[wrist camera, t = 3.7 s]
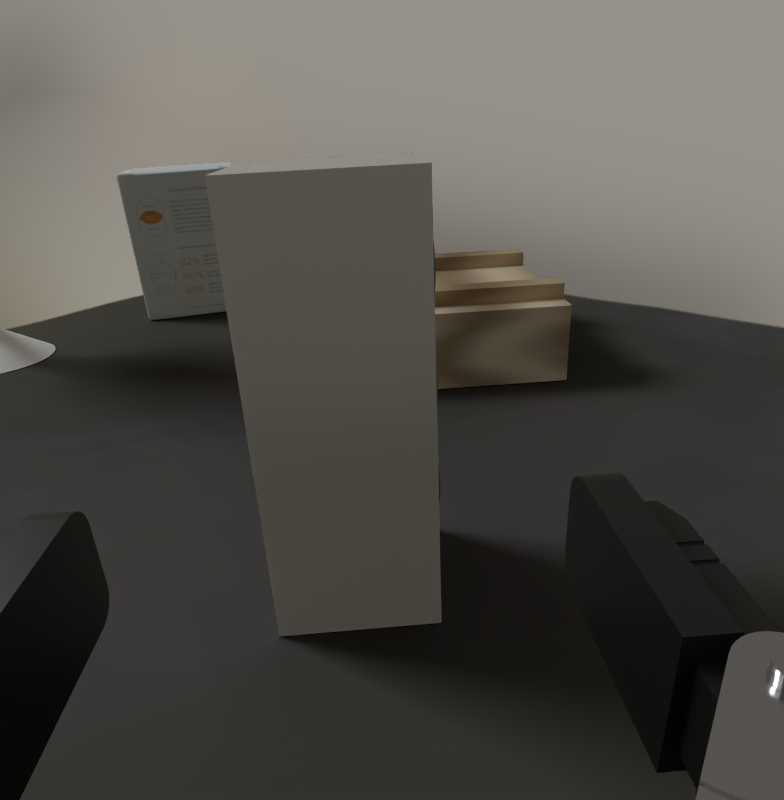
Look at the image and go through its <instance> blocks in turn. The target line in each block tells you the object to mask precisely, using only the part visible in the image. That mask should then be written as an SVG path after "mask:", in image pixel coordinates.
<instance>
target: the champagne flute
mask: <svg viewBox="0 0 784 800" xmlns="http://www.w3.org/2000/svg"><path fill="white" fill-rule="evenodd" d="M55 350H56V349H55V346H54V345H52V344H50V343H47V342H43V341H40V340H37V339H33V338H30V337H27V336H24V335H20V334H17V333H14V332H11V331H7V330H4V329H1V328H0V373H5V372H9V371H13V370H17V369H20V368H24V367H27V366H29V365H32V364H35V363H37V362H40V361H42V360H44V359H46V358H47V357H49V356H50V355H52V354H53V353H54V351H55Z"/></svg>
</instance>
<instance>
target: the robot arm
mask: <svg viewBox="0 0 784 800" xmlns="http://www.w3.org/2000/svg"><path fill="white" fill-rule="evenodd" d="M565 563H566V571H567V576H568V581H569V584H570V587H571V590H572V592H573V594H574V597H575V599H576V601H577V603H578V605H579V607H580V609H581V612H582V614H583V616H584V618H585V620H586V622H587V624H588V626H589V629H590V631H591V633H592V635H593V637H594V639H595V641H596V644H597V646H598V648H599V650H600V652H601V654H602V656H603V659H604V661H605V663H606V665H607V667H608V669H609V671H610V673H611V676H612V678H613V680H614V682H615V684H616V686H617V688H618V691H619V693H620V695H621V697H622V699H623V701H624V703H625V706H626V708H627V710H628V712H629V714H630V716H631V718H632V720H633V723H634V725H635V727H636V729H637V731H638V733H639V735H640V738H641V740H642V742H643V744H644V746H645V748H646V750H647V753H648V755H649V757H650V759H651V761H652V763H653V765H654V767H655V770H656V772H657V773H660V772H671V771H682V770H687V772H688V774H689V776H690V777H691V779H692V781H693V783H694V785H695V787H696V789H697V791H696V796H695V800H784V633H782V632H780V631H779V630H778V628H777V627H776V626H775V625H774V624H773V622H772V621H771V620H770V619H769V618H768V616H767V615H766V614H765V613H764V612H763V610H762V609H761V608H760V607H759V606H758V604H757V603H756V602H755V601H754V600H753V599H752V597H751V596H750V595H749V594H748V593H747V591H746V590H745V589H744V588H743V587H742V585H741V584H740V583H739V582H738V581H737V579H736V578H735V577H734V576H733V575H732V573H731V572H730V571H729V570H728V569H727V568H726V566H725V565H724V564H720V562H719V558H718V557H717V556H716V554H715V553H714V552H713V551H712V550H711V548H710V547H709V546H708V545H704V540H703V539H702V538H701V536H700V535H699V534H698V533H697V532H696V531H695V529H694V528H693V527H692V526H691V525H690V523H689V522H688V521H687V520H686V519H685V518H684V517H682V516H681V515H679V514H677V513H676V512H674V511H673V510H671V509H669V508H668V507H666V506H665V505H663V504H661V503H660V502H658V501H649V502H644V501H643V499H642V498H641V497H640V495H639V494H638V493H637V492H636V490H635V489H634V488H633V486H632V485H631V484H630V482H629V481H628V480H627V478H626V477H625V476H624V475H622V474H620V473H617V474H603V475H589V476H577V477H575V478H574V479H573V480H572V483H571V489H570V499H569V512H568V524H567V536H566V548H565ZM108 609H109V591H108V586H107V582H106V579H105V575H104V572H103V569H102V565H101V562H100V559H99V555H98V552H97V549H96V545H95V542H94V538H93V535H92V532H91V528H90V525H89V522H88V520H87V518H86V517H85V515H84V514H83V513H81V512H63V513H50V514H36V515H30V516H28V517H26V518H25V519H24V520H23V521H22V522H21V523H20V525H19V526H18V527H17V528H16V530H15V531H14V532H13V533H12V534H11V536H10V537H9V538H8V539H7V540H6V542H5V543H4V544H3V545H2V547H1V548H0V800H20V798H21V796H22V794H23V791H24V789H25V787H26V785H27V783H28V781H29V779H30V777H31V775H32V773H33V771H34V769H35V767H36V765H37V763H38V761H39V759H40V757H41V755H42V753H43V751H44V749H45V746H46V744H47V742H48V740H49V738H50V736H51V734H52V732H53V730H54V728H55V726H56V724H57V722H58V720H59V718H60V716H61V714H62V712H63V710H64V708H65V706H66V703H67V701H68V699H69V697H70V695H71V693H72V691H73V689H74V687H75V685H76V683H77V681H78V679H79V677H80V675H81V673H82V671H83V669H84V667H85V665H86V663H87V661H88V658H89V656H90V654H91V652H92V650H93V648H94V646H95V644H96V642H97V640H98V638H99V636H100V634H101V632H102V630H103V628H104V625H105V623H106V620H107V615H108Z"/></svg>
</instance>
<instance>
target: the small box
mask: <svg viewBox="0 0 784 800" xmlns="http://www.w3.org/2000/svg"><path fill="white" fill-rule="evenodd" d="M229 166H232V165H231V163H230V162H225V163H209V164H193V165H179V166H178V165H177V166H164V167H152V168H141V169H129V170H126V171H124V172H121V173H119V174H118V175H117V181H118V185H119V189H120V194H121V198H122V202H123V207H124V211H125V215H126V220H127V224H128V229H129V233H130V238H131V242H132V247H133V251H134V256H135V260H136V264H137V269H138V272H139V277H140V282H141V286H142V290H143V295H144V299H145V303H146V308H147V312H148V317H149V319H150V320H159V319H168V318H176V317H184V316H192V315H201V314H209V313H217V312H225V311H226V305H225V299H224V293H223V287H222V281H221V274H220V268H219V262H218V256H217V250H216V244H215V238H214V231H213V225H212V219H211V213H210V207H209V201H208V195H207V188H206V182H205V175H207V174H210V173H213V172H216V171H218V170H221V169H224V168H227V167H229Z"/></svg>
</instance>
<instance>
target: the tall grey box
mask: <svg viewBox="0 0 784 800" xmlns="http://www.w3.org/2000/svg"><path fill="white" fill-rule="evenodd" d="M431 165H432V163H431V162H429V161H427V160H425V159H423V158H421V157H419V156H416V155H414V154H413V153H399V154H382V155H363V156H346V157H328V158H312V159H311V158H310V159H293V160H276V161H258V162H240V163H238V164H235V165H232V166H229V167H227V168H224V169H221V170H218V171H216V172H213V173H210V174H207V175H205V182H206V188H207V195H208V201H209V207H210V213H211V219H212V225H213V231H214V238H215V244H216V250H217V256H218V262H219V268H220V274H221V281H222V287H223V293H224V299H225V305H226V311H227V317H228V324H229V330H230V336H231V342H232V348H233V354H234V360H235V367H236V373H237V379H238V385H239V391H240V397H241V403H242V410H243V416H244V422H245V428H246V434H247V440H248V447H249V453H250V459H251V465H252V471H253V477H254V483H255V490H256V496H257V502H258V508H259V514H260V520H261V526H262V533H263V539H264V545H265V551H266V557H267V563H268V569H269V576H270V582H271V588H272V594H273V600H274V606H275V612H276V619H277V625H278V631H279V636H290V635H302V634H314V633H326V632H338V631H350V630H361V629H373V628H385V627H397V626H409V625H421V624H433V623H442V614H441V569H440V524H439V502H440V476H439V465H438V433H437V405H438V377H437V365H436V343H435V286H436V270H435V252H434V242H433V207H432V166H431Z"/></svg>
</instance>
